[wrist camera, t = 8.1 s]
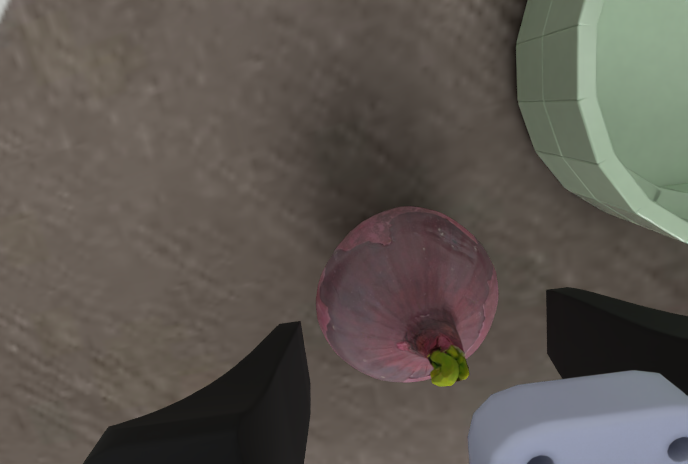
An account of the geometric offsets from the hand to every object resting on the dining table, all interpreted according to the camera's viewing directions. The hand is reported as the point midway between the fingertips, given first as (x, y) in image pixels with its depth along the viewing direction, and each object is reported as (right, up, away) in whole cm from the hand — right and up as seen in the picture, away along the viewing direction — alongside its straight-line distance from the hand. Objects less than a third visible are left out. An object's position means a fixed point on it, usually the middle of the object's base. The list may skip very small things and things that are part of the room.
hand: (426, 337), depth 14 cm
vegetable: (0, +2, +7) cm, 7 cm away
